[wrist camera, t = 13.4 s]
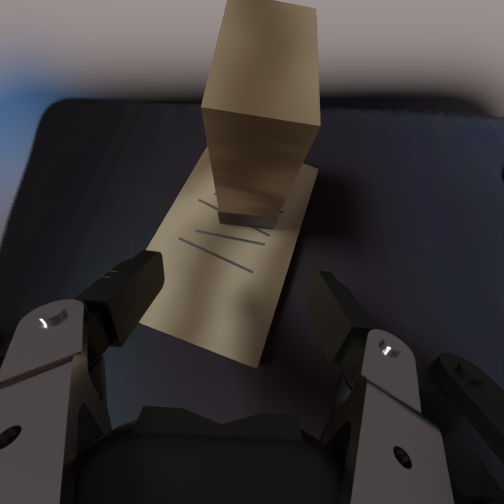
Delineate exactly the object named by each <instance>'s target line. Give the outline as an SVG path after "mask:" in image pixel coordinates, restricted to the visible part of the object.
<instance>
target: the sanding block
mask: <svg viewBox="0 0 504 504" xmlns="http://www.w3.org/2000/svg"><path fill="white" fill-rule="evenodd" d="M316 20H317V19H316V9H315V8H310V7H305V6H300V5H295V4H290V3H285V2H280V1H275V0H227V4H226V8H225V12H224V16H223V20H222V24H221V28H220V32H219V36H218V40H217V44H216V48H215V52H214V57H213V60H212V65H211V69H210V73H209V77H208V81H207V85H206V89H205V93H204V97H203V101H202V105H201V110H202V116H203V121H204V127H205V133H206V139H207V145H208V151H209V157H210V162H211V168H212V174H213V180H214V186H215V192H216V197H217V203H218V218H219V223H221V224H229V225H238V226H246V227H254V228H263V229H271V230H273V228H274V226H275V224H276V222H277V220H278V215H279V212H280V210H281V208H282V206H283V204H284V202H285V200H286V198H287V196H288V193H289V191H290V189H291V187H292V185H293V183H294V181H295V179H296V177H297V174H298V172H299V170H300V168H301V166H302V164H303V162H304V160H305V158H306V155H307V153H308V151H309V149H310V147H311V145H312V143H313V141H314V139H315V136H316V134H317V132H318V130H319V128H320V100H319V73H318V46H317V21H316Z"/></svg>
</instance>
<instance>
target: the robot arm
mask: <svg viewBox="0 0 504 504" xmlns="http://www.w3.org/2000/svg"><path fill="white" fill-rule="evenodd" d="M503 174H504V173H503ZM164 281H165V275H164V266H163V257H162V253H161V252H157V251H149V250H143V251H141V252H140V253H139V254H138V255H136V256H135V257H134V258H133V259H132V258H131V259H128V260H126V261H124V262H121V263H119V264H118V265H117V266H115V267H114V268H113V269H111V271H110V272H108V273H106V274H105V275H104V276H103V277H101V278H100V279H99V280H97V281H96V282H95V283H94V284H92V285H91V286H90V287H89V288H87V289H86V290H85V291H83V292H82V293H81V294H80V295H78V296H77V297H76V298H74V299H73V300H72V299H68V300H60V301H55V302H52V303H49V304H46V305H43V306H41V307H39V308H37V309H35V310H33V311H32V312H30V313H29V314H27V315H26V316H25V317H24V318H18V319H10V320H2V321H0V504H504V492H503V491H502V489H501V488H500V486H499V485H498V484H497V482H496V481H495V480H494V478H493V477H492V475H491V474H490V473H489V471H488V470H487V469H486V467H485V466H484V464H483V463H482V462H481V460H480V459H479V457H478V456H477V455H476V453H475V452H474V451H473V449H472V448H471V446H470V445H469V444H468V442H467V441H466V440H465V438H464V437H463V435H462V434H461V433H460V431H459V430H458V429H457V428H458V427H460V426H461V425H463V424H465V423H466V422H468V421H470V423H471V424H472V425H473V427H474V428H475V429H476V430H477V432H478V433H479V434H480V435H481V437H482V438H483V439H484V440H485V442H486V443H487V444H488V446H489V447H490V448H491V449H492V451H493V452H494V453H495V454H496V456H497V457H498V458H499V459H500V461H501V462H502V463H503V464H504V390H503V389H502V388H501V387H500V386H499V385H498V384H496V383H495V382H494V381H493V380H492V379H491V378H490V377H489V376H488V375H487V374H486V373H484V372H483V371H482V370H481V369H479V368H478V367H477V366H475V365H474V364H472V363H470V362H469V361H467V360H465V359H463V358H461V357H459V356H456V355H453V354H449V353H443V354H441V355H440V356H439V357H438V358H437V359H436V360H435V361H432V360H430V359H427V358H424V357H421V356H418V355H416V354H413V353H412V351H411V350H410V349H409V347H408V346H407V345H406V344H405V343H403V342H402V341H401V340H400V339H399V338H397V337H396V336H394V335H392V334H390V333H388V332H386V331H383V330H379V329H378V328H377V326H376V325H375V324H374V322H373V321H372V320H371V318H370V317H369V316H368V314H367V313H366V312H365V310H364V309H363V308H362V306H361V305H360V304H359V302H358V301H357V299H355V297H354V295H353V294H352V293H351V291H350V290H349V289H348V288H346V287H345V286H344V285H343V284H341V283H339V282H338V281H337V279H336V278H335V276H334V275H333V274H332V273H331V272H324V271H316V272H315V273H314V275H313V278H312V280H311V283H310V286H309V289H308V291H307V295H306V303H307V306H308V309H309V312H310V314H311V317H312V320H313V322H314V325H315V327H316V330H317V333H318V335H319V338H320V341H321V343H322V346H323V349H324V351H325V354H326V356H327V359H328V362H329V364H330V365H331V366H341V368H342V370H343V373H342V374H341V376H340V379H339V383H338V387H337V390H336V394H335V397H334V401H333V404H332V408H331V412H330V415H329V418H328V421H327V424H326V426H325V428H324V430H323V432H322V435H321V437H320V440H317V439H316V438H315V437H313V436H312V435H310V434H308V433H307V432H305V431H303V430H301V429H300V426H299V420H298V416H295V415H280V414H264V413H261V414H257V415H254V416H250V417H247V418H243V419H240V420H236V421H233V422H229V423H226V424H219V423H216V422H213V421H211V420H209V419H207V418H204V417H202V416H200V415H197V414H195V413H193V412H190V411H188V410H186V409H183V408H169V407H153V406H143V408H142V411H141V413H140V415H139V417H138V420H134V421H131V422H129V423H126V424H124V425H121V426H119V427H117V428H115V429H113V430H112V427H111V422H110V417H109V413H108V408H107V396H106V377H105V359H104V355H103V353H104V352H105V350H106V349H107V348H108V346H114V347H122V346H123V344H124V343H125V341H126V340H127V338H128V337H129V336H130V334H131V333H132V331H133V330H134V328H135V327H136V325H137V324H138V323H139V321H140V320H141V318H142V317H143V315H144V314H145V313H146V311H147V310H148V308H149V307H150V305H151V304H152V302H153V301H154V300H155V298H156V297H157V295H158V294H159V292H160V291H161V289H162V288H163V285H164Z"/></svg>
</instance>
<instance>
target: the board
mask: <svg viewBox="0 0 504 504" xmlns="http://www.w3.org/2000/svg"><path fill="white" fill-rule="evenodd" d="M318 170H319V169H317V168H314V167H311V166H309V165H306V164H302V166H301V168H300V170H299V172H298V174H297V177H296V179H295V181H294V183H293V185H292V187H291V189H290V191H289V193H288V196H287V198H286V200H285V202H284V204H283V206H282V208H281V210H280V212H279V215H278V220H277V222H276V224H275V226H274V228H273V230H271V229H263V228H254V227H246V226H238V225H229V224H221V223H219V218H218V203H217V197H216V192H215V186H214V180H213V174H212V168H211V162H210V157H209V151H208V146H207V148H206V149H205V151H204V153H203V154H202V156H201V158H200V160H199V161H198V163H197V165H196V166H195V168H194V170H193V171H192V173H191V175H190V176H189V178H188V180H187V181H186V183H185V185H184V187H183V188H182V190H181V192H180V193H179V195H178V197H177V198H176V200H175V202H174V203H173V205H172V207H171V209H170V210H169V212H168V214H167V215H166V217H165V219H164V220H163V222H162V224H161V225H160V227H159V229H158V231H157V232H156V234H155V236H154V237H153V239H152V241H151V242H150V244H149V246H148V247H147V249H146V250H149V251H157V252H161V253H162V257H163V266H164V275H165V281H164V285H163V288H162V289H161V291H160V292H159V294H158V295H157V297H156V298H155V300H154V301H153V302H152V304H151V305H150V307H149V308H148V310H147V311H146V313H145V314H144V315H143V317H142V318H141V320H140V321H139V323H141V324H144V325H146V326H149V327H152V328H154V329H157V330H159V331H162V332H164V333H167V334H169V335H172V336H174V337H177V338H180V339H182V340H185V341H187V342H190V343H192V344H195V345H197V346H200V347H202V348H205V349H208V350H210V351H213V352H215V353H218V354H220V355H223V356H225V357H228V358H230V359H233V360H236V361H238V362H241V363H243V364H246V365H248V366H251V367H253V368H256V369H257V368H258V364H259V361H260V358H261V355H262V351H263V348H264V345H265V342H266V338H267V335H268V332H269V329H270V325H271V322H272V319H273V316H274V312H275V309H276V306H277V303H278V299H279V296H280V293H281V290H282V286H283V283H284V280H285V277H286V273H287V270H288V267H289V264H290V260H291V257H292V254H293V251H294V247H295V244H296V241H297V238H298V234H299V231H300V228H301V225H302V221H303V218H304V215H305V212H306V208H307V205H308V202H309V199H310V196H311V192H312V189H313V186H314V183H315V179H316V176H317V173H318Z"/></svg>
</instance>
